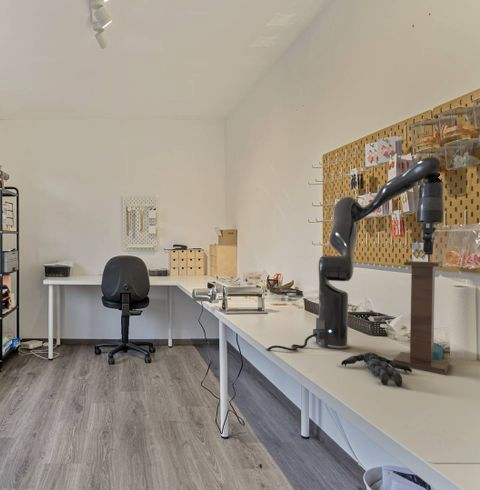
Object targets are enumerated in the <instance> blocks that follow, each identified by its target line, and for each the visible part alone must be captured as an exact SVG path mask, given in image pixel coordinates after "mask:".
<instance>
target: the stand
mask: <svg viewBox="0 0 480 490" xmlns="http://www.w3.org/2000/svg"><path fill="white" fill-rule="evenodd" d="M403 266H408V267H411V275H410V279H411V282H410V326H409V327H410V331H409V333H410V335H409V352H403V351H400V352H399V353H398V354H397V355H396V356H395V357H394V358H393V360H395V361H397V362H399V363H401V364H403V365H404V366H407V367H409V368H411V369H416V370H421V371H425V372H430V373H435V374H440V375H446V374H447V373H448V369H449V367H450V364H451V363H450V360H448V359H442V358H441V359H438V358H433V343H435V342H434V336H435V333H434V332H435V284H436V283H435V281H436V268H438V267H439V268H440V267H442V266H443V262H441V261H417V260H416V261H415V260H414V261H413V260H409V261H403Z"/></svg>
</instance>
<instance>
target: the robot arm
mask: <svg viewBox="0 0 480 490" xmlns="http://www.w3.org/2000/svg"><path fill="white" fill-rule="evenodd" d="M435 157H436V156H426V157H423V158H421V159H419V160H417V161H416V162H415V163H413V164H412V165H411V166H409V167H408V168H407V169H405V171H404V172H402V173H399V174H398V175H396V176H395V177H393V178H391V179H389V180H387V181H386V182H385V183H383V185H381V187H380V188H379V190H378V191H377V193H376V194H375V196H374V198H373V199H372V200H371V201H370V202H369V203H368V204H366V205H365V206H362V205H361V204H360V202H358V200H357V199H355V198H354V197H352V196H344V197H341V198H340V199H339V200H338V201H336V203H335V204H334V206H333V211H332V213H333V214H332V215H333V216H332V217H333V218H332V223H331V224H332V225H331V229H330V234H329V238H328V242H329V244H330V246H331V247H332V248H333V250H335V251H336V252H337V253H338V254H339V255H322V256H320V257H319V260H318V264H317V265H318V266H317V267H318V269H317V270H318V317H316V318H315V328H313V329H312V334H311V335H308V336H307V337H306V338H305V339H304V344H301V345H300V344H295V343H294V344H292V345H291V347H287V346H283V345H271V346H269V347H268V348H266V351H268V352H269V351H271V350H272V349H282V350H286V351H290V352H296V351H297V350H298V349H297V348H299V349H302V348H306V347H307V345H308V341H310V339H312V338H315V343H316V344H318V345H319V346H322V347H323V348H330V349H338V350H339V349H341V350H343V349H347V348H348V347H349V346H348V345H349V344H348V341H349V340H348V336H349V335H348V331H349V327H348V325H349V293H348V292H347V291H345V290H342V289H339V288H337V287H336V286H334V285H332V284H331V283H330V282H332V281H333V282H349V281H351V279H352V278H353V275H354V269H355V268H354V267H355V249H356V244H357V239H358V228H357V225H356V223H358V222H360V221H361V220H363V219H365V218H366V217H368V216H369V215H371V214H373V213H374V212H375V211H376V210H378V209H380V208H381V207H383V206H384V205H386V204H387V203H389V202H390V201H392V200H393V199H396V198H397V197H399V196H400V195H402V194H404V193H406V192H408V191H410V190H412V189H414V188H415V187H417V186H418V185H419V182H420V181H423V182H422V184H420V185H419V188H418V194H417V195H418V196H417V197H418V199H417V204H416V219H415V221H416V224H418V225H422V226H423V227H421V239H422V242H423V244H422V245H423V246H422V252H423V253H424V254H425V255H426V256H432V255H434V251H433V250H434V245H435V240H436V234H437V227H434V226H435V225H439V224H443V223H444V208H445V205H444V186H443V185H445V183H444V184H443V182H442V181H441V180H440V179H439V178H438V177H439V176H440V173H438V172H437V169H438V168H439V166H440V162H439V160H438V159H439V158H438V157H436V158H435ZM437 158H438V159H437ZM258 467H259V468H260V469H262V468H263V464H262V463H259V465H258Z"/></svg>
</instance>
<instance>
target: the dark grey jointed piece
mask: <svg viewBox="0 0 480 490" xmlns="http://www.w3.org/2000/svg"><path fill="white" fill-rule="evenodd" d="M357 362H364V363H365V364H366V365H367V369H368V370H369V371H370V372H371V374H373V375H374V376H377V377H378V376H379V378H380V383H381V384H382V385H384V386H386V385H388V382H389V377H390V378H393V382H394V384H395V385H396V386H397V387H401V386H402V384H403V377H402V375H401V373H400V372H399V371H397V370H402V371H404V372H405V373H408V372H409V373H412V372H413V368H410V367H407V366H404V365H403V364H401V363H399V362H397V361H395V360H394V359H392V360H391V359H388V358H387V357H384V356H380V355H378V353H375V352H372V351H369V352H365V353H360V354H357V355H356V354H355V355H351V356H349V357H347V358H346V359H343V360H342V361H341V366H343V365H344V367H347V365H355V364H356V363H357Z"/></svg>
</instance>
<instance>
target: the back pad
mask: <svg viewBox="0 0 480 490" xmlns="http://www.w3.org/2000/svg"><path fill="white" fill-rule="evenodd" d="M439 344H440V343H437V344H436V342H433V358H438V359H442V358H443V357H444V347H443V346H442V347H441V345H439Z"/></svg>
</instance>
